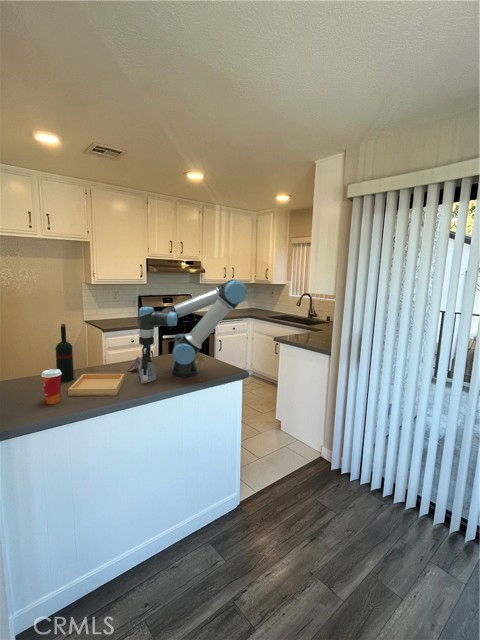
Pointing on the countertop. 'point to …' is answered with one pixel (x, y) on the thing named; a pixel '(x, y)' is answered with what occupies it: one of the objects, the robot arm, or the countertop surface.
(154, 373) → the electrical switch
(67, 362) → the wine bottle
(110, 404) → the countertop surface
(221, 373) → the countertop surface
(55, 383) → the paper cup
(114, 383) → the wooden tray
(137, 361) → the lily
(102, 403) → the countertop surface
